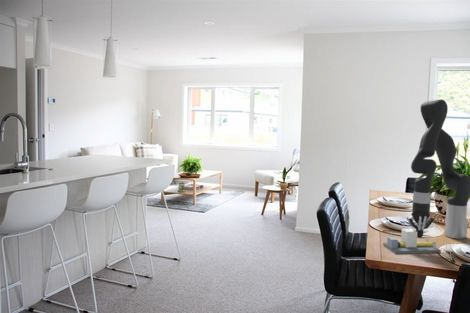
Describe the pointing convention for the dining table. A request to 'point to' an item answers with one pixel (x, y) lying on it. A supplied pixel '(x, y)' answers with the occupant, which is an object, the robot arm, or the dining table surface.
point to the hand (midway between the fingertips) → (419, 237)
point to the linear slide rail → (421, 246)
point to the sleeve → (409, 237)
